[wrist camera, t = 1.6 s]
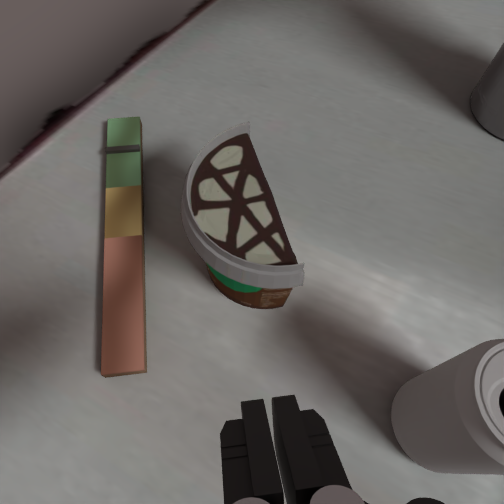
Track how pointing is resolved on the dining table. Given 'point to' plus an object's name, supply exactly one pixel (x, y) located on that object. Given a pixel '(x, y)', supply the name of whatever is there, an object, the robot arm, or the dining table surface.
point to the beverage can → (455, 413)
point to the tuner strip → (124, 252)
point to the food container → (238, 223)
